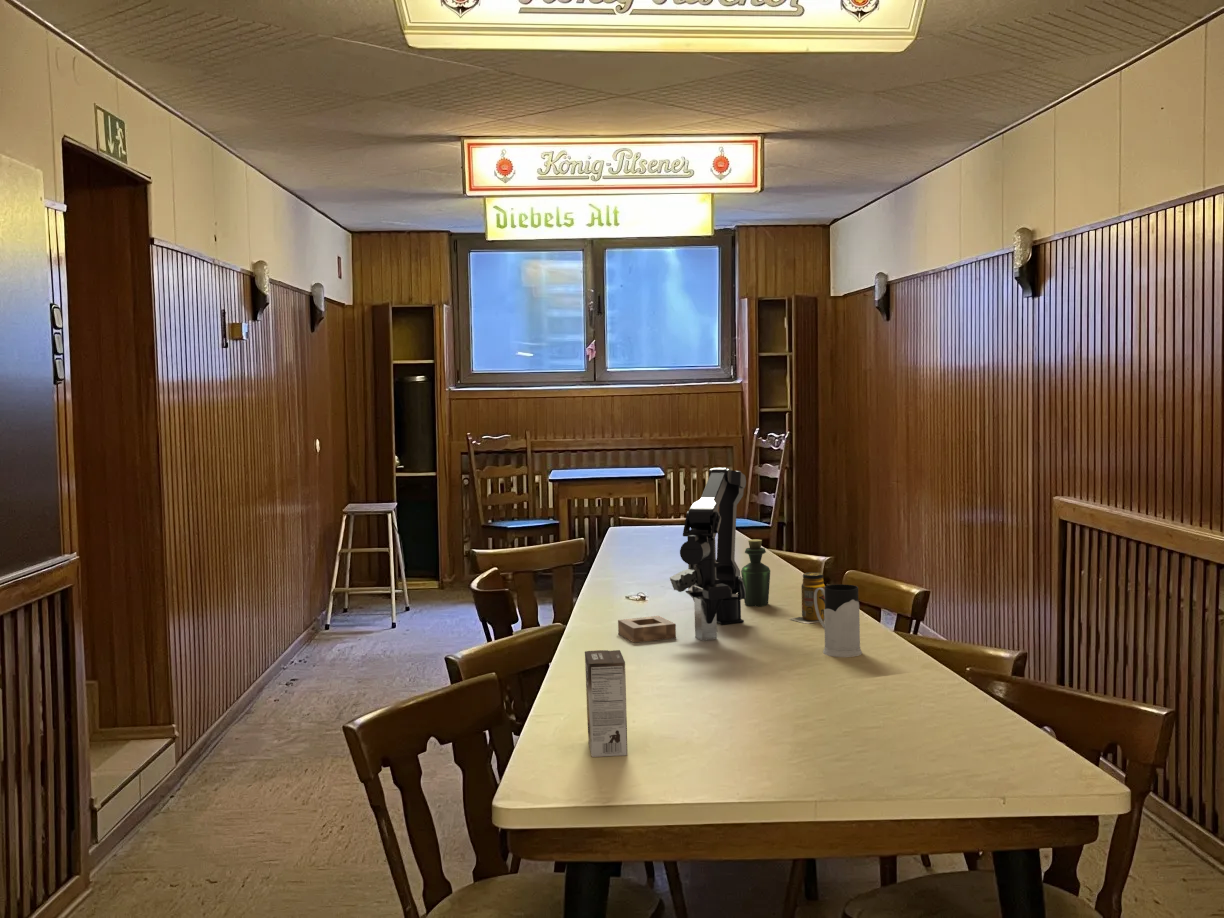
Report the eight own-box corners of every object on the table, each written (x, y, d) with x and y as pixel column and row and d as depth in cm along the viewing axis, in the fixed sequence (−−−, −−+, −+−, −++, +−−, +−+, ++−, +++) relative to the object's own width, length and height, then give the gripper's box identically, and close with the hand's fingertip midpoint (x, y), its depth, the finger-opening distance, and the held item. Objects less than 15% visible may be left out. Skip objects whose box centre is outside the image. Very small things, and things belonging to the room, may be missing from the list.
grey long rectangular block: (710, 635, 280) (709, 595, 279) (717, 638, 276) (716, 598, 275) (695, 637, 278) (694, 596, 278) (701, 640, 275) (700, 599, 274)
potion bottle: (770, 601, 321) (769, 538, 320) (771, 607, 313) (770, 542, 312) (741, 601, 322) (740, 538, 321) (742, 607, 314) (740, 542, 313)
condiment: (832, 619, 294) (831, 573, 293) (808, 624, 289) (807, 577, 289) (813, 615, 300) (812, 570, 299) (789, 619, 296) (788, 574, 295)
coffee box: (587, 741, 199) (584, 650, 198) (623, 739, 200) (620, 648, 199) (590, 757, 190) (587, 663, 189) (628, 755, 191) (625, 661, 190)
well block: (659, 629, 289) (658, 615, 288) (675, 637, 278) (675, 623, 278) (618, 633, 285) (618, 619, 285) (634, 642, 275) (633, 628, 274)
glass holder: (839, 659, 252) (838, 592, 251) (800, 646, 265) (799, 583, 264) (870, 653, 256) (869, 587, 255) (830, 642, 269) (829, 579, 268)
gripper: (658, 555, 282) (660, 618, 283) (689, 566, 264) (690, 632, 265) (699, 552, 286) (701, 613, 287) (732, 562, 268) (733, 627, 269)
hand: (705, 621), depth 277 cm, fingers closed on grey long rectangular block, 4 cm apart
